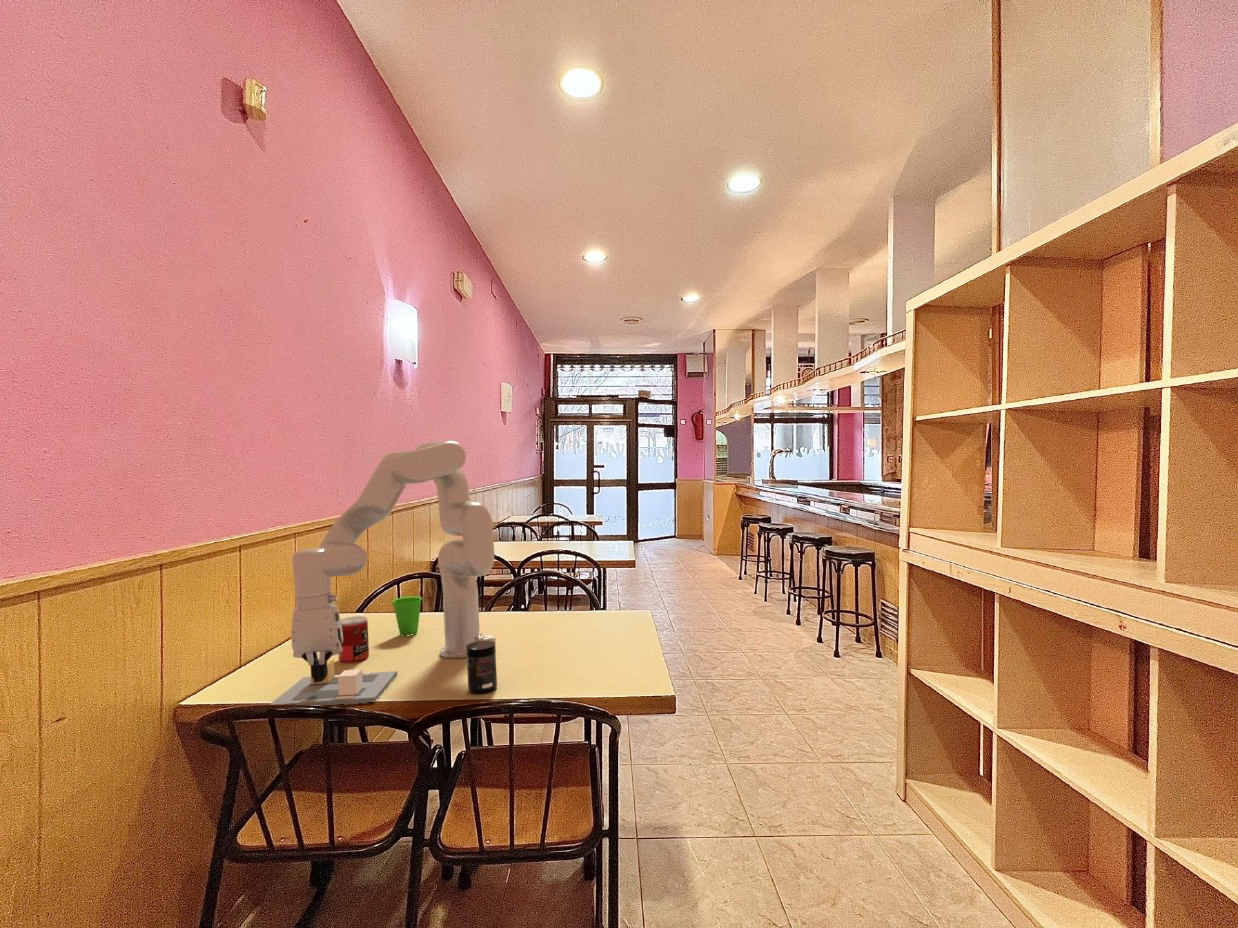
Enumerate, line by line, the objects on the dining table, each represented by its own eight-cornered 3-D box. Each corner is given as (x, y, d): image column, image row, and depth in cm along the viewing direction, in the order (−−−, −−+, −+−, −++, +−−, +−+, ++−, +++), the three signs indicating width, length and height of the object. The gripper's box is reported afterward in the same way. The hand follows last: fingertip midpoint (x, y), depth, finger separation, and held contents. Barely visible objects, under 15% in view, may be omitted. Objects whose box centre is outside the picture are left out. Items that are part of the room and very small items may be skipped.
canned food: (358, 663, 164) (356, 623, 164) (332, 663, 165) (330, 623, 165) (375, 654, 171) (373, 616, 171) (350, 654, 173) (348, 615, 173)
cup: (418, 637, 186) (416, 602, 186) (388, 639, 186) (387, 603, 186) (427, 629, 195) (426, 595, 195) (399, 630, 195) (398, 596, 195)
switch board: (397, 675, 153) (397, 670, 153) (375, 702, 136) (374, 696, 136) (303, 682, 151) (303, 676, 151) (269, 709, 134) (269, 704, 134)
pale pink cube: (362, 687, 142) (361, 669, 142) (356, 694, 138) (355, 675, 138) (345, 688, 141) (344, 670, 141) (338, 695, 137) (337, 676, 137)
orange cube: (334, 677, 150) (334, 659, 150) (328, 682, 146) (327, 664, 146) (318, 678, 150) (317, 660, 150) (311, 684, 146) (310, 666, 146)
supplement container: (489, 681, 146) (487, 638, 146) (502, 689, 141) (500, 644, 141) (463, 689, 142) (461, 645, 142) (476, 697, 137) (474, 651, 136)
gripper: (353, 595, 144) (358, 671, 145) (288, 600, 143) (294, 676, 143) (341, 603, 137) (347, 683, 137) (272, 608, 135) (279, 689, 136)
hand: (320, 679), depth 140 cm, fingers closed
